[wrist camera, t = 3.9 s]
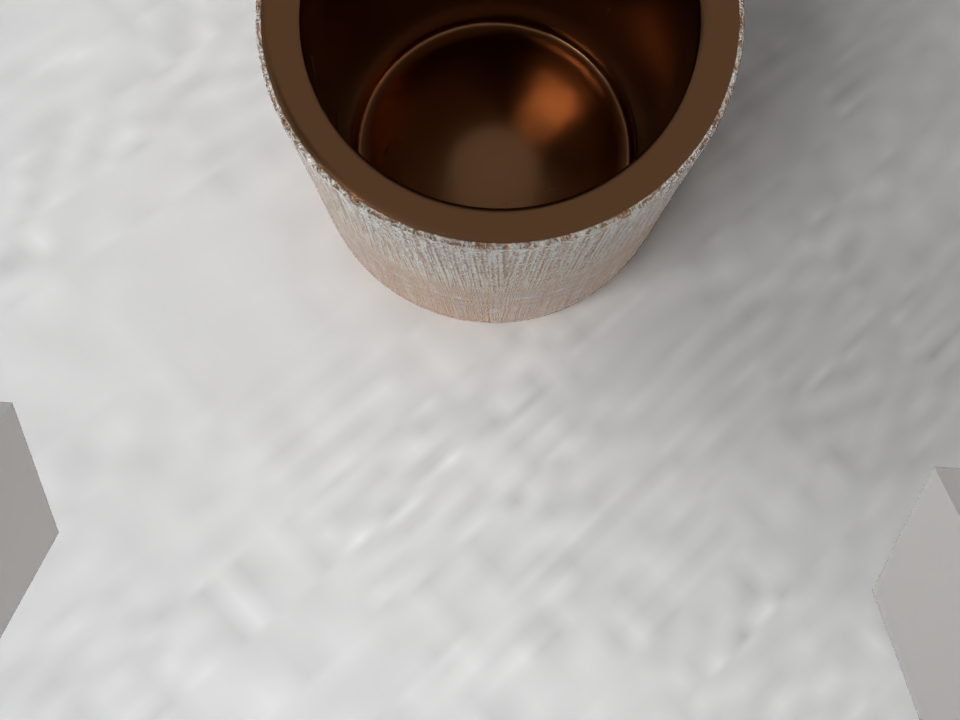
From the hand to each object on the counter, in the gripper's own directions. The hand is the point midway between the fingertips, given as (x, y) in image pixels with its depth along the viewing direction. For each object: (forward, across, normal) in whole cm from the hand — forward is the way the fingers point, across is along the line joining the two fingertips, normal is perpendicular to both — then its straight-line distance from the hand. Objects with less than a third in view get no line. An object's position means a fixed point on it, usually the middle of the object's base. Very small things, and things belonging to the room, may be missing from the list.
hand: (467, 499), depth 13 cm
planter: (+18, 0, -3) cm, 18 cm away
